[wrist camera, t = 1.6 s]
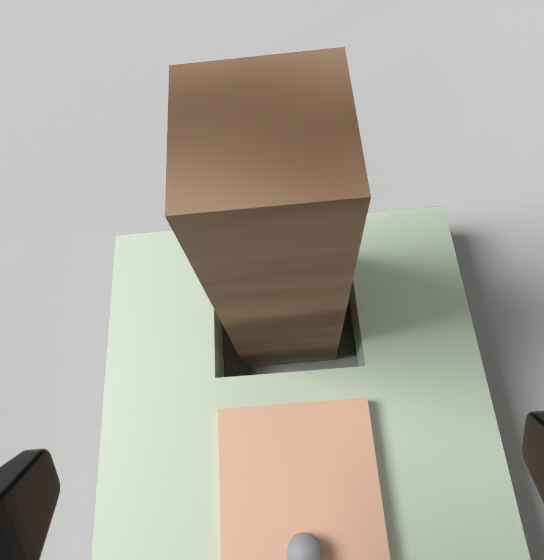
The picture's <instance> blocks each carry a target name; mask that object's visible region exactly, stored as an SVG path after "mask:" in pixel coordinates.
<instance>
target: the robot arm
mask: <svg viewBox="0 0 544 560" xmlns="http://www.w3.org/2000/svg"><path fill="white" fill-rule="evenodd" d="M522 452H523V457H524V460H525V463H526V465H527V467H528V469H529V472H530V474H531V476H532V478H533V481H534V483H535V485H536V487H537V489H538V492H539V494H540V496H541V498H542V500H543V503H544V411H535V412H530V413H528V414H527V416H526V420H525V428H524V436H523V445H522ZM59 493H60V482H59V478H58V475H57V472H56V469H55V466H54V463H53V460H52V457H51V454H50V452H49V451H48V450H46V449H33V450H25V451H23V452H21V453H20V454H18V455H17V456H16V457H14V458H13V459H11V460H10V461H8V462H7V463H5V464H4V465H3V466H1V467H0V560H39V559H40V556H41V553H42V550H43V546H44V543H45V540H46V536H47V533H48V530H49V527H50V523H51V520H52V517H53V513H54V510H55V507H56V504H57V500H58V497H59Z"/></svg>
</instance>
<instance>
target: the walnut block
mask: <svg viewBox="0 0 544 560" xmlns="http://www.w3.org/2000/svg"><path fill="white" fill-rule="evenodd" d="M370 198H371V196H370V190H369V184H368V178H367V173H366V167H365V161H364V155H363V150H362V144H361V138H360V133H359V127H358V121H357V115H356V110H355V104H354V98H353V92H352V87H351V81H350V75H349V69H348V64H347V58H346V52H345V47H340V48H331V49H321V50H312V51H302V52H293V53H283V54H274V55H264V56H255V57H245V58H236V59H226V60H217V61H207V62H198V63H188V64H179V65H169V97H168V132H167V167H166V202H165V217H166V219H167V221H168V223H169V224H170V226H171V228H172V230H173V232H174V234H175V236H176V238H177V240H178V242H179V243H180V245H181V247H182V249H183V251H184V253H185V255H186V257H187V259H188V260H189V262H190V264H191V266H192V268H193V270H194V272H195V274H196V276H197V278H198V279H199V281H200V283H201V285H202V287H203V289H204V291H205V293H206V295H207V296H208V298H209V300H210V302H211V304H212V306H213V308H214V310H215V312H216V314H217V315H218V317H219V319H220V321H221V323H222V325H223V327H224V329H225V331H226V332H227V334H228V336H229V338H230V340H231V342H232V344H233V346H234V348H235V350H236V351H237V353H238V355H239V357H240V359H241V361H242V363H243V365H244V367H247V366H259V365H272V364H284V363H296V362H309V361H321V360H333V359H336V357H337V352H338V347H339V343H340V338H341V333H342V329H343V324H344V319H345V315H346V310H347V305H348V301H349V296H350V291H351V287H352V282H353V277H354V273H355V268H356V263H357V259H358V254H359V249H360V245H361V240H362V235H363V231H364V226H365V221H366V217H367V212H368V207H369V203H370Z"/></svg>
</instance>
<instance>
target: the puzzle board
mask: <svg viewBox="0 0 544 560" xmlns="http://www.w3.org/2000/svg"><path fill="white" fill-rule="evenodd" d="M349 304H350V311H351V319H352V326H353V333H354V340H355V347H356V355H357V362H358V367H346V368H334V369H321V370H309V371H296V372H284V373H271V374H259V375H246V376H234V377H224V353H223V325H222V323H221V321H220V319H219V317H218V315H217V314H216V312H215V310H214V308H213V306H212V304H211V302H210V300H209V298H208V296H207V295H206V293H205V291H204V289H203V287H202V285H201V283H200V281H199V279H198V278H197V276H196V274H195V272H194V270H193V268H192V266H191V264H190V262H189V260H188V259H187V257H186V255H185V253H184V251H183V249H182V247H181V245H180V243H179V242H178V240H177V238H176V236H175V234H174V232H173V231H163V232H152V233H141V234H131V235H120V236H116V239H115V252H114V265H113V279H112V292H111V305H110V319H109V332H108V345H107V358H106V372H105V385H104V398H103V412H102V425H101V438H100V451H99V465H98V478H97V491H96V505H95V518H94V531H93V544H92V558H91V560H531V559H530V555H529V551H528V547H527V543H526V539H525V535H524V531H523V526H522V522H521V518H520V514H519V510H518V506H517V502H516V498H515V494H514V490H513V486H512V482H511V477H510V473H509V469H508V465H507V461H506V457H505V453H504V449H503V445H502V441H501V437H500V432H499V428H498V424H497V420H496V416H495V412H494V408H493V404H492V400H491V396H490V392H489V388H488V383H487V379H486V375H485V371H484V367H483V363H482V359H481V355H480V351H479V347H478V343H477V339H476V334H475V330H474V326H473V322H472V318H471V314H470V310H469V306H468V302H467V298H466V294H465V290H464V285H463V281H462V277H461V273H460V269H459V265H458V261H457V257H456V253H455V249H454V245H453V241H452V236H451V232H450V228H449V224H448V220H447V216H446V212H445V208H444V206H436V207H425V208H414V209H403V210H392V211H381V212H371V213H367V217H366V221H365V226H364V231H363V235H362V240H361V245H360V249H359V254H358V259H357V263H356V268H355V273H354V277H353V282H352V287H351V291H350V296H349Z"/></svg>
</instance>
